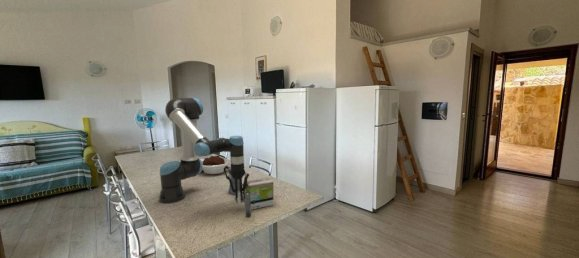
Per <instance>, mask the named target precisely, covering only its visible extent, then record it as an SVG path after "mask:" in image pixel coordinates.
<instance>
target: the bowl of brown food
mask: <svg viewBox="0 0 579 258" xmlns="http://www.w3.org/2000/svg"><path fill="white" fill-rule="evenodd" d="M201 161H202V162H201V163H202V165H203V168H202V171H203V173H204V174H207V175H217V174H218V175H219V174H222V173H224V168H225V166H229V165H230V159H227V158H223V157H221V156H220V155H215V156H214V155H211V156H209V157H205V158H204V159H203V160H201ZM225 170H226V171H227V168H226V169H225Z"/></svg>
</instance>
